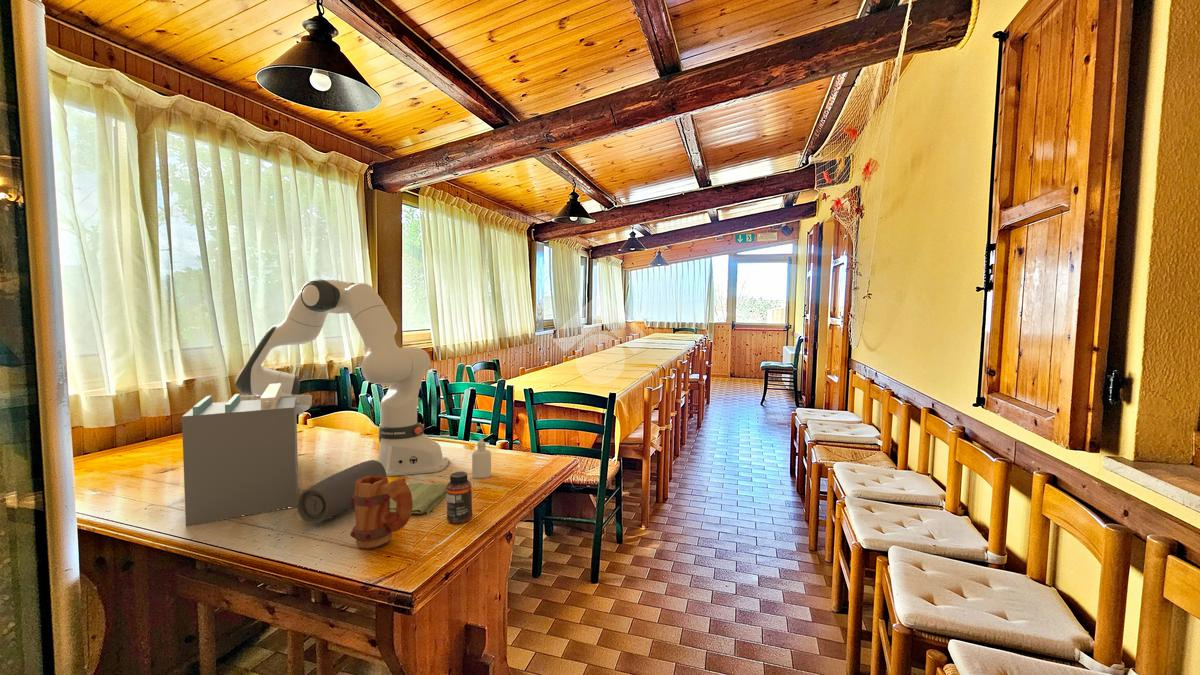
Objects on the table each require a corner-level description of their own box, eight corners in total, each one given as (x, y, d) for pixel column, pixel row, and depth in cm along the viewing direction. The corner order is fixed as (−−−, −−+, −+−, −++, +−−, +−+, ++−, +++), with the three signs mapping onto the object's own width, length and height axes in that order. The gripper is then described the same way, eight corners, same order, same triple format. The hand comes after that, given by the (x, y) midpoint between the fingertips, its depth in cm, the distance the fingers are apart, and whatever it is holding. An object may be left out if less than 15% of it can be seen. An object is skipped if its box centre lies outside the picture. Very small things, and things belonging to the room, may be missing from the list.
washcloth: (375, 516, 119) (375, 504, 119) (409, 490, 137) (409, 479, 137) (426, 519, 118) (426, 506, 118) (454, 492, 136) (454, 481, 136)
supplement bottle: (464, 512, 121) (464, 468, 121) (476, 519, 117) (476, 473, 116) (442, 519, 117) (441, 473, 116) (454, 527, 113) (453, 479, 112)
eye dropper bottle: (477, 473, 151) (476, 435, 150) (493, 475, 149) (493, 437, 149) (469, 478, 146) (469, 439, 146) (486, 479, 145) (486, 440, 144)
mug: (341, 548, 102) (340, 478, 102) (372, 532, 110) (370, 467, 109) (395, 560, 97) (393, 487, 96) (423, 543, 105) (422, 475, 104)
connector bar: (269, 393, 143) (269, 383, 143) (281, 393, 145) (281, 383, 144) (259, 412, 117) (259, 399, 116) (274, 410, 118) (274, 398, 118)
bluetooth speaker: (330, 530, 111) (329, 487, 110) (295, 527, 112) (294, 485, 112) (389, 494, 133) (388, 458, 133) (358, 492, 135) (358, 457, 134)
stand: (201, 500, 128) (197, 396, 127) (298, 485, 139) (295, 390, 138) (185, 526, 113) (181, 407, 111) (296, 507, 124) (293, 399, 123)
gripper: (234, 396, 153) (234, 387, 143) (308, 395, 165) (314, 387, 155) (233, 416, 151) (233, 408, 141) (308, 414, 164) (313, 406, 153)
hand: (276, 397), depth 148 cm, fingers open, 8 cm apart
